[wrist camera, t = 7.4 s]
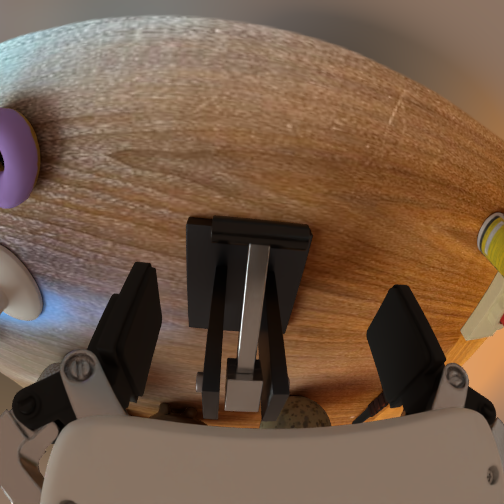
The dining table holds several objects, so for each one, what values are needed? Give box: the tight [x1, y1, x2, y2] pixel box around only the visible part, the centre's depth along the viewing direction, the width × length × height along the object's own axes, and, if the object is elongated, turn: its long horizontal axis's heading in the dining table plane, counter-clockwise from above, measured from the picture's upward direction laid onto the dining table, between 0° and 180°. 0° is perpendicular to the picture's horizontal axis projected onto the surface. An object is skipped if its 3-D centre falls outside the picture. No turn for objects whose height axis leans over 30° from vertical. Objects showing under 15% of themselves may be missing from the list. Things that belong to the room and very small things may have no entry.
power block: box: [460, 272, 504, 341], centre depth 28 cm, size 14×8×4 cm, turn 173°
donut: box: [0, 108, 40, 208], centre depth 16 cm, size 10×9×5 cm
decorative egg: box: [259, 396, 331, 429], centre depth 34 cm, size 11×11×15 cm
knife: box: [352, 392, 389, 424], centre depth 43 cm, size 17×1×3 cm, turn 166°
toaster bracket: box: [186, 217, 313, 421], centre depth 21 cm, size 12×10×13 cm
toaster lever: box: [211, 215, 310, 412], centre depth 16 cm, size 12×5×2 cm, turn 173°
